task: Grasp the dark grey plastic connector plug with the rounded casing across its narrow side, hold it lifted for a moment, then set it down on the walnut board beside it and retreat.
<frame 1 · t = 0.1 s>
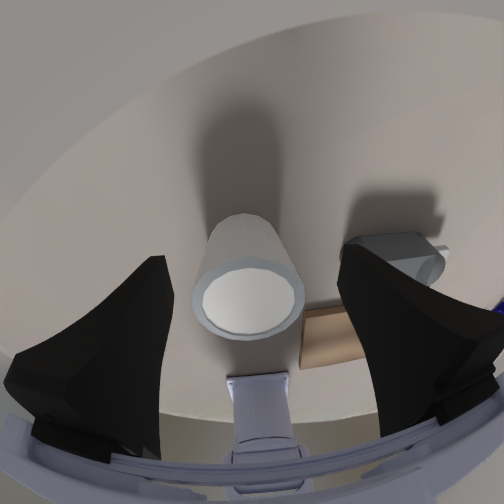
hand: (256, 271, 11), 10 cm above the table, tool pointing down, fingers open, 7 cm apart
white cup: (243, 244, 22), on the table
connector plug: (385, 250, 23), on the table
walnut board: (364, 329, 29), on the table
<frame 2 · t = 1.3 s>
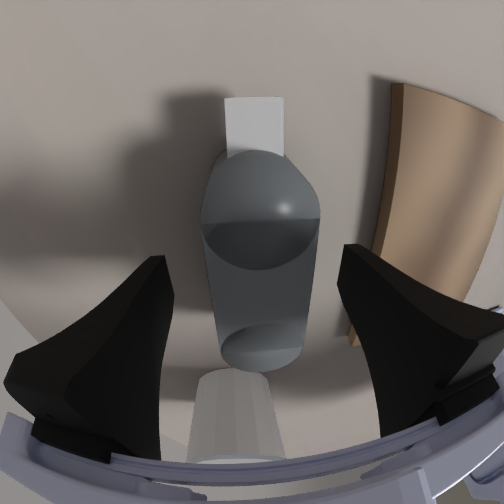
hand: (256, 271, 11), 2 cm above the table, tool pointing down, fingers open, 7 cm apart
white cup: (233, 384, 20), on the table
connector plug: (253, 241, 13), on the table
walnut board: (438, 233, 13), on the table
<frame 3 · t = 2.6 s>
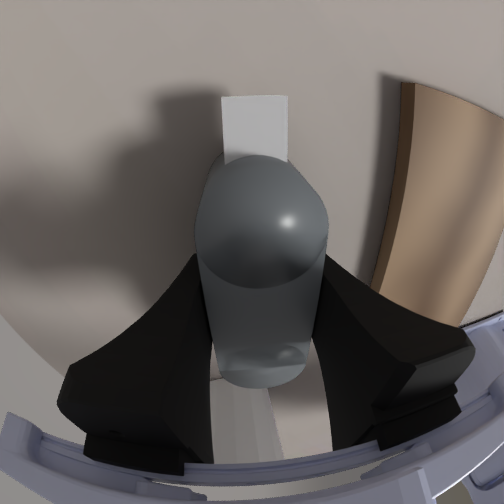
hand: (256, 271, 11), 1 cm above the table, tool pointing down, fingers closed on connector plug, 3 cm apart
white cup: (232, 393, 19), on the table
connector plug: (253, 251, 12), on the table, touching gripper
walnut board: (446, 240, 12), on the table
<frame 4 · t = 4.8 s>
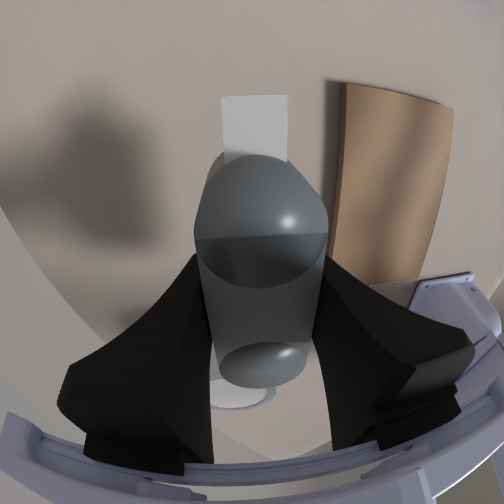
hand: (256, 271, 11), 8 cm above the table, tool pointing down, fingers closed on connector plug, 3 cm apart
white cup: (230, 329, 25), on the table
connector plug: (253, 251, 12), point 7 cm above the table, touching gripper
walnut board: (390, 194, 18), on the table
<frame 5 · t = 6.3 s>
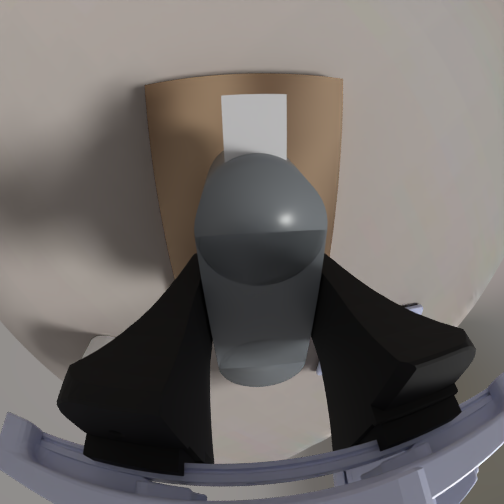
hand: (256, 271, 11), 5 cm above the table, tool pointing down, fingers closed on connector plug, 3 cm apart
connector plug: (253, 250, 12), point 4 cm above the table, touching gripper
walnut board: (248, 214, 15), on the table
when the fingers open (4 cm above the table, at t = 7.3 s): connector plug drops 1 cm, resting on walnut board.
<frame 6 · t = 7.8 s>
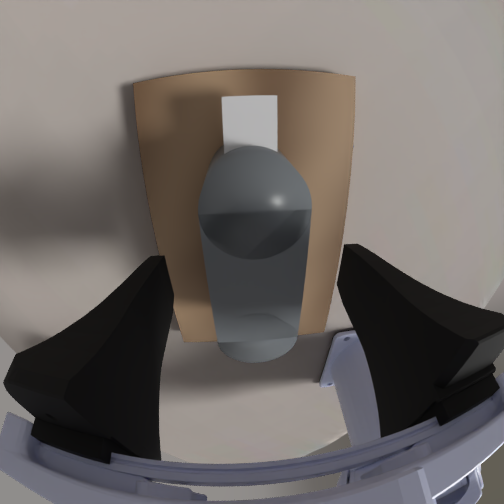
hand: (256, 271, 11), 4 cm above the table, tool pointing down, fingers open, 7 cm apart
connector plug: (250, 235, 13), point 1 cm above the table, touching walnut board
walnut board: (250, 226, 14), on the table
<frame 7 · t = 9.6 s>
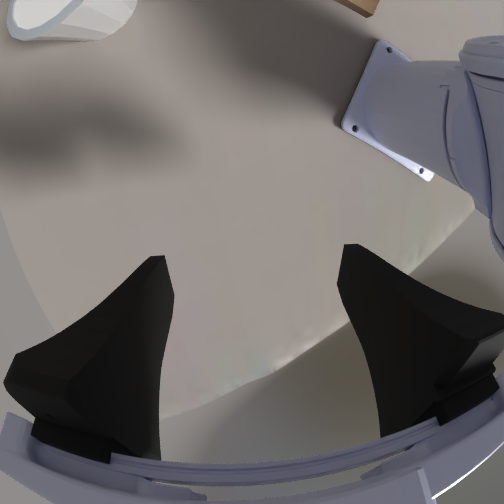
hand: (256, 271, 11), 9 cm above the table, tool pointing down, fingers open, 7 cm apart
white cup: (103, 9, 10), on the table
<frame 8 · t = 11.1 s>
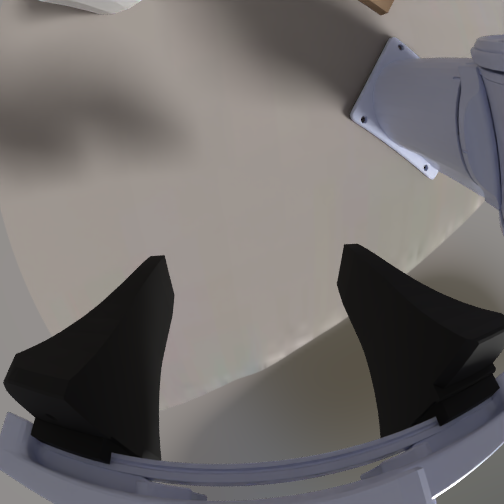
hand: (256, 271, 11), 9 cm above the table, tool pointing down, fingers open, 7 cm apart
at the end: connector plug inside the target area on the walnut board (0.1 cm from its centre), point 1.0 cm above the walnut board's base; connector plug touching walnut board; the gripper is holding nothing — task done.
